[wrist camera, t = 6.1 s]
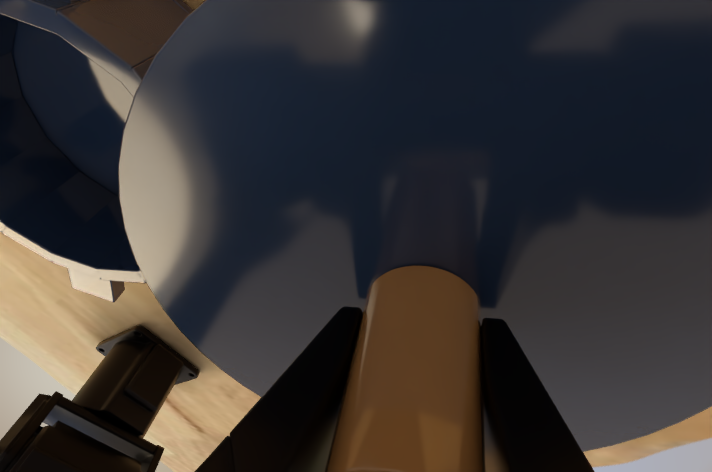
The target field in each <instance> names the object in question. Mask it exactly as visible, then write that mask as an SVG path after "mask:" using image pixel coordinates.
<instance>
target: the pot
mask: <svg viewBox="0 0 712 472" xmlns="http://www.w3.org/2000/svg"><path fill="white" fill-rule="evenodd" d="M192 11H193V10H192V9H191V8H190V7H189V6H188V5H187V4H186V3H185V2H184V1H182V0H0V232H2V233H3V234H4V235H6V236H8V237H9V238H11V239H13V240H14V241H16V242H18V243H19V244H21V245H23V246H25V247H26V248H28V249H30V250H31V251H33V252H35V253H37V254H38V255H40V256H42V257H43V258H45V259H47V260H48V261H50V262H53V263H54V264H57V265H60V266H63V267H66V268H67V269H68V273H69V277H70V281H71V285H72V288H73V289H76V290H79V291H82V292H85V293H88V294H91V295H94V296H97V297H100V298H102V299H105V300H108V301H111V302H115V301H116V300H117V299H118V297H119V296H120V295H121V294H122V293H123V291H124V290H125V287H124V282H136V283H146V281H145V279H144V277H143V275H142V273H141V271H140V268H139V266H138V264H137V262H136V260H135V258H134V255H133V252H132V249H131V246H130V243H129V240H128V237H127V235H126V232H125V227H124V222H123V217H122V211H121V206H120V201H119V178H118V163H119V156H120V149H121V141H122V134H123V129H124V126H125V123H126V120H127V116H128V113H129V110H130V107H131V104H132V101H133V98H134V95H135V92H136V90H137V88H138V86H139V84H140V83H141V81H142V79H143V77H144V75H145V73H146V72H147V70H148V68H149V66H150V64H151V62H152V61H153V59H154V57H155V55H156V53H157V52H158V51H159V50H160V48H161V47H162V46H163V45H164V43H165V42H166V41H167V40H168V39H169V37H170V36H171V35H172V34H173V32H174V31H175V30H176V29H177V27H178V26H179V25H180V24H181V23H182V21H183V20H184V19H185V18H186V16H188V15H189V14H190V13H191V12H192Z"/></svg>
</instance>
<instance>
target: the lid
mask: <svg viewBox="0 0 712 472" xmlns="http://www.w3.org/2000/svg"><path fill="white" fill-rule="evenodd" d="M118 178H119V201H120V206H121V211H122V217H123V222H124V227H125V232H126V235H127V237H128V240H129V243H130V246H131V249H132V252H133V255H134V258H135V260H136V262H137V264H138V266H139V268H140V271H141V273H142V275H143V277H144V279H145V281H146V283H147V285H148V286H149V288H150V290H151V291H152V293H153V294H154V296H155V297H156V299H157V300H158V302H159V304H160V305H161V307H162V308H163V310H164V311H165V312H166V313H167V315H168V316H169V317H170V318H171V320H172V321H173V322H174V323H175V325H176V326H177V327H178V328H179V330H180V331H181V332H182V333H183V334H184V335H185V336H186V337H187V338H188V339H189V340H190V341H191V342H192V343H193V344H194V345H195V346H196V347H197V348H198V349H199V351H200V352H202V353H203V354H204V355H205V356H206V357H207V358H209V359H210V360H211V361H212V362H213V363H214V364H215V365H217V366H218V367H219V368H220V369H221V370H223V371H224V372H225V373H227V374H228V375H229V376H231V377H232V378H234V379H235V380H236V381H238V382H239V383H240V384H242V385H243V386H245V387H246V388H248V389H249V390H251V391H253V392H254V393H256V394H257V395H259V396H261V397H262V396H263V395H264V394H265V393H266V392H267V391H268V390H269V388H270V387H271V386H272V385H273V384H274V383H275V382H276V381H277V379H278V378H279V377H280V376H281V375H282V374H283V373H284V372H285V370H286V369H287V368H288V367H289V366H290V365H291V364H292V363H293V361H294V360H295V359H296V358H297V357H298V356H299V355H300V353H301V352H302V351H303V350H304V349H305V348H306V347H307V346H308V344H309V343H310V342H311V341H312V340H313V339H314V338H315V337H316V335H317V334H318V333H319V332H320V331H321V330H322V329H323V328H324V326H325V325H326V324H327V323H328V322H329V321H330V320H331V319H332V317H333V316H334V315H335V314H336V313H337V312H338V311H339V310H340V309H341V308H342V307H344V306H348V307H359V308H361V310H362V312H363V314H362V318H361V322H360V327H359V331H358V335H357V339H356V343H355V347H354V351H353V356H352V360H351V364H350V368H349V372H348V376H347V380H346V385H345V389H344V393H343V397H342V401H341V405H340V409H339V414H338V418H337V422H336V426H335V430H334V434H333V438H332V443H331V447H330V451H329V455H328V459H327V463H326V467H325V471H324V472H486V465H485V433H484V401H483V369H482V337H481V324H482V320H483V319H484V318H496V319H503V320H504V321H505V322H506V323H507V325H508V326H509V328H510V330H511V331H512V333H513V335H514V337H515V338H516V340H517V342H518V343H519V345H520V347H521V348H522V350H523V352H524V353H525V355H526V357H527V358H528V360H529V362H530V364H531V365H532V367H533V369H534V370H535V372H536V374H537V375H538V377H539V379H540V380H541V382H542V384H543V386H544V387H545V389H546V391H547V392H548V394H549V396H550V397H551V399H552V401H553V402H554V404H555V406H556V408H557V409H558V411H559V413H560V414H561V416H562V418H563V419H564V421H565V423H566V424H567V426H568V428H569V429H570V431H571V433H572V435H573V436H574V438H575V440H576V441H577V443H578V445H579V446H580V448H581V450H582V451H583V452H584V451H588V450H593V449H598V448H602V447H607V446H612V445H615V444H619V443H622V442H626V441H629V440H632V439H636V438H639V437H643V436H646V435H649V434H651V433H654V432H656V431H659V430H661V429H664V428H667V427H669V426H672V425H674V424H677V423H679V422H681V421H683V420H685V419H688V418H690V417H692V416H694V415H696V414H698V413H700V412H702V411H704V410H706V409H708V408H710V407H712V0H205V1H204V2H203V3H201V4H200V5H199V6H198V7H197V8H196V9H194V10H193V11H192V12H191V13H190V14H189V15H188V16H186V18H185V19H184V20H183V21H182V23H181V24H180V25H179V26H178V27H177V29H176V30H175V31H174V32H173V34H172V35H171V36H170V37H169V39H168V40H167V41H166V42H165V43H164V45H163V46H162V47H161V48H160V50H159V51H158V52H157V53H156V55H155V57H154V59H153V61H152V62H151V64H150V66H149V68H148V70H147V72H146V73H145V75H144V77H143V79H142V81H141V83H140V84H139V86H138V88H137V90H136V92H135V95H134V98H133V101H132V104H131V107H130V110H129V113H128V116H127V120H126V123H125V126H124V129H123V134H122V141H121V149H120V156H119V163H118Z"/></svg>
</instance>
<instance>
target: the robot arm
mask: <svg viewBox="0 0 712 472" xmlns="http://www.w3.org/2000/svg"><path fill="white" fill-rule="evenodd" d="M362 314H363V312H362V310H361V308H359V307H348V306H344V307H342V308H341V309H340V310H339V311H338V312H337V313H336V314H335V315H334V316H333V317H332V319H331V320H330V321H329V322H328V323H327V324H326V325H325V326H324V328H323V329H322V330H321V331H320V332H319V333H318V334H317V335H316V337H315V338H314V339H313V340H312V341H311V342H310V343H309V344H308V346H307V347H306V348H305V349H304V350H303V351H302V352H301V353H300V355H299V356H298V357H297V358H296V359H295V360H294V361H293V363H292V364H291V365H290V366H289V367H288V368H287V369H286V370H285V372H284V373H283V374H282V375H281V376H280V377H279V378H278V379H277V381H276V382H275V383H274V384H273V385H272V386H271V387H270V388H269V390H268V391H267V392H266V393H265V394H264V395H263V396H262V397H261V399H260V400H259V401H258V402H257V403H256V404H255V405H254V406H253V408H252V409H251V410H250V411H249V412H248V413H247V414H246V415H245V417H244V418H243V419H242V420H241V421H240V422H239V423H238V425H237V426H236V427H235V428H234V429H233V430H232V431H231V432H230V436H227V437H226V438H225V439H224V440H223V441H222V442H221V443H220V445H219V446H218V447H217V448H216V449H215V450H214V451H213V452H212V454H211V455H210V456H209V457H208V458H207V459H206V460H205V461H204V462H203V463H202V464H201V465H200V466H199V467H198V469H197V470H196V471H195V472H324V471H325V467H326V463H327V459H328V455H329V451H330V447H331V443H332V438H333V434H334V430H335V426H336V422H337V418H338V414H339V409H340V405H341V401H342V397H343V393H344V389H345V385H346V380H347V376H348V372H349V368H350V364H351V360H352V356H353V351H354V347H355V343H356V339H357V335H358V331H359V327H360V322H361V318H362ZM481 337H482V369H483V401H484V433H485V465H486V472H594V470H593V468H592V467H591V465H590V463H589V462H588V460H587V458H586V457H585V455H584V453H583V451H582V450H581V448H580V446H579V445H578V443H577V441H576V440H575V438H574V436H573V435H572V433H571V431H570V429H569V428H568V426H567V424H566V423H565V421H564V419H563V418H562V416H561V414H560V413H559V411H558V409H557V408H556V406H555V404H554V402H553V401H552V399H551V397H550V396H549V394H548V392H547V391H546V389H545V387H544V386H543V384H542V382H541V380H540V379H539V377H538V375H537V374H536V372H535V370H534V369H533V367H532V365H531V364H530V362H529V360H528V358H527V357H526V355H525V353H524V352H523V350H522V348H521V347H520V345H519V343H518V342H517V340H516V338H515V337H514V335H513V333H512V331H511V330H510V328H509V326H508V325H507V323H506V322H505V321H504V320H503V319H496V318H484V319H483V320H482V324H481ZM96 349H97V350H98V351H99V352H100V353H101V354H103V355H104V356H106V357H105V358H104V359H103V360H102V362H101V363H100V364H99V366H98V367H97V368H96V370H95V371H94V372H93V374H92V375H91V376H90V378H89V379H88V380H87V382H86V383H85V384H84V385H83V387H82V388H81V389H80V391H79V392H78V393H77V395H76V396H75V397H74V399H73V400H72V401H70V400H68V399H66V398H64V397H63V395H62V394H60V393H58V392H55V393H54V394H53V395H52V396H50V395H44V394H39V395H38V396H37V397H36V399H35V400H34V401H33V402H32V403H31V404H30V406H29V407H28V408H27V409H26V410H25V412H24V413H23V414H22V415H21V417H20V418H19V419H18V420H17V421H16V422H15V424H14V425H13V426H12V427H11V428H10V430H9V431H8V432H7V433H6V435H5V436H4V437H3V438H2V439H1V440H0V472H155V470H156V468H157V465H158V463H159V460H160V458H161V456H162V453H163V451H164V448H163V447H161V446H159V445H157V446H156V445H154V444H152V443H150V442H148V441H146V440H145V439H143V437H144V436H145V434H146V432H147V431H148V429H149V427H150V425H151V424H152V422H153V420H154V419H155V417H156V415H157V413H158V412H159V410H160V408H161V407H162V405H163V403H164V401H165V400H166V398H167V396H168V395H169V393H170V391H171V389H172V388H173V386H174V385H176V384H179V383H182V382H185V381H189V380H192V379H195V378H197V377H198V375H199V370H198V369H196V368H195V367H194V366H192V365H191V364H190V363H189V362H187V361H186V360H185V359H183V358H182V357H181V356H180V355H178V354H177V353H176V352H174V351H173V350H172V349H171V348H169V347H168V346H167V345H166V344H164V343H163V342H162V341H160V340H159V339H158V338H157V337H155V336H154V335H153V334H151V333H150V332H149V331H148V330H146V329H145V328H143V327H141V326H135V327H133V328H131V329H129V330H126V331H124V332H122V333H120V334H118V335H116V336H113V337H111V338H109V339H107V340H105V341H102V342H100V343H99V344H98V345H97V347H96ZM42 422H44V423H46V424H48V425H49V426H45V427H41V426H40V425H41V423H42Z"/></svg>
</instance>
